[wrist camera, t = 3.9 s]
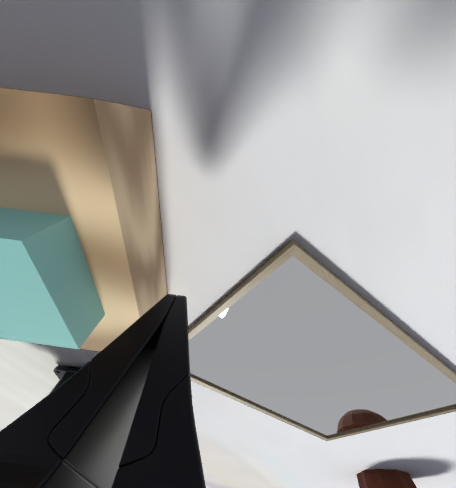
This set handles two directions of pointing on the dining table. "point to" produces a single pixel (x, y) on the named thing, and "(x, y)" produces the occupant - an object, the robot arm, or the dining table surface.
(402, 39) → the dining table surface
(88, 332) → the teal rectangular block
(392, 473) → the muffin
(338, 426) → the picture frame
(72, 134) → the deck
